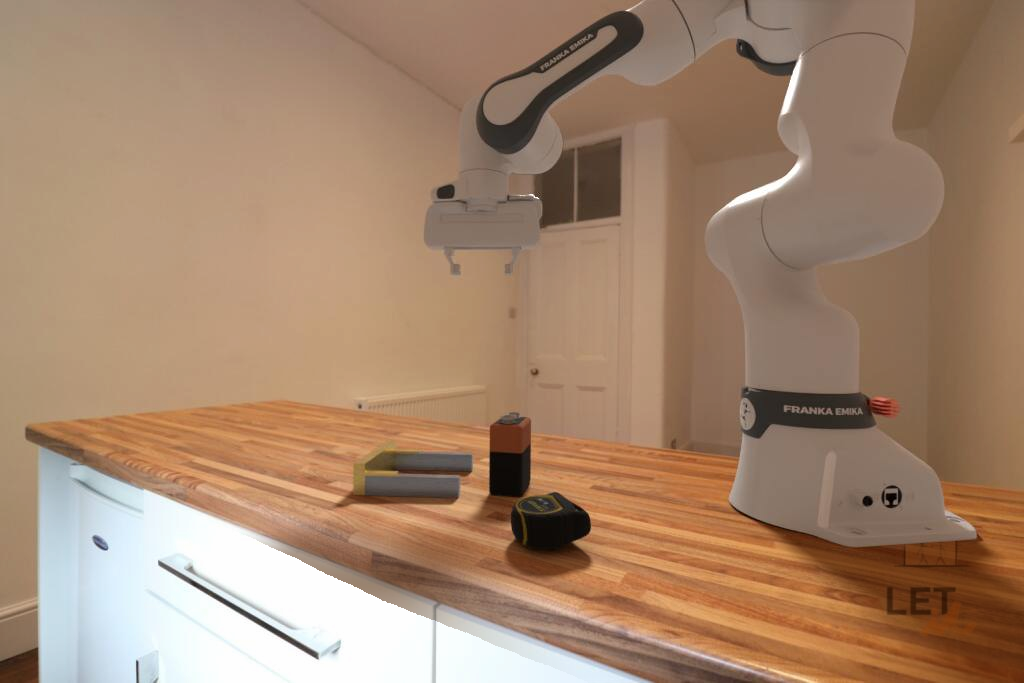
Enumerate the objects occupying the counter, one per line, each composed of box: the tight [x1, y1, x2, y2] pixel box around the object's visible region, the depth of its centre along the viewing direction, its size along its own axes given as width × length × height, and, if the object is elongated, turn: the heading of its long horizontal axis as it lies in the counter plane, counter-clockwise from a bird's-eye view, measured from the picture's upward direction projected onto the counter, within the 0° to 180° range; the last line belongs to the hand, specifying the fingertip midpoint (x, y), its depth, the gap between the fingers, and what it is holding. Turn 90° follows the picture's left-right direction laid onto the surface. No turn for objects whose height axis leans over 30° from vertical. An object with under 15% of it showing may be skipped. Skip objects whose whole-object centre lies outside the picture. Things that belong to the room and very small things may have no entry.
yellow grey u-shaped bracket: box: [352, 440, 474, 499], centre depth 63 cm, size 14×12×4 cm
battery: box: [488, 411, 532, 498], centre depth 60 cm, size 4×7×10 cm, turn 167°
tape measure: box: [510, 491, 592, 550], centre depth 44 cm, size 7×7×4 cm
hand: (482, 274), depth 78 cm, fingers open, 8 cm apart
